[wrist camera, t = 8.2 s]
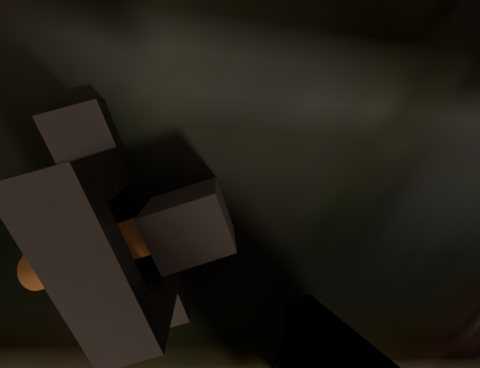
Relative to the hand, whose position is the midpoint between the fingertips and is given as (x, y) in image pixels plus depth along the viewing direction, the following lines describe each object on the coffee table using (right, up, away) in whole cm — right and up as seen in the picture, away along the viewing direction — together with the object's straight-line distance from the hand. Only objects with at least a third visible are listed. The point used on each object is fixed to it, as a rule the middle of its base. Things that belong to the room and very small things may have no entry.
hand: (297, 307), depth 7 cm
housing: (-10, +1, +10) cm, 15 cm away
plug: (-10, 0, +11) cm, 14 cm away
